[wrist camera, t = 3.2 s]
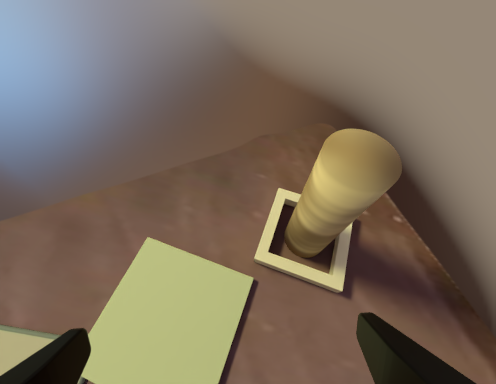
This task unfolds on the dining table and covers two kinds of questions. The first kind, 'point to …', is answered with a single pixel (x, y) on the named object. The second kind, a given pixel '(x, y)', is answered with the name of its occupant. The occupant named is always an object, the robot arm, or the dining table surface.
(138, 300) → the mat
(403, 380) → the robot arm
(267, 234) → the cream rectangular frame
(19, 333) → the sticky note pad
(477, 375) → the dining table surface
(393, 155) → the tan dome-topped cylinder
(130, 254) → the dining table surface
